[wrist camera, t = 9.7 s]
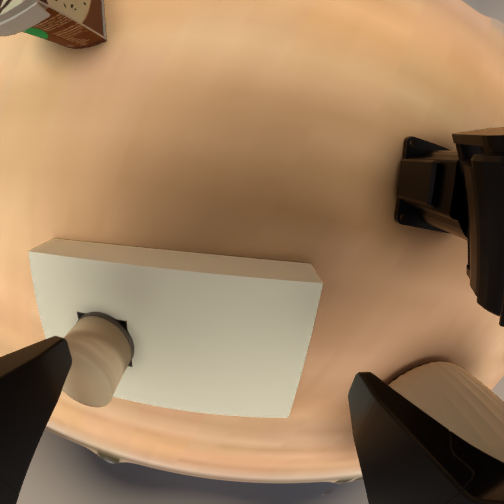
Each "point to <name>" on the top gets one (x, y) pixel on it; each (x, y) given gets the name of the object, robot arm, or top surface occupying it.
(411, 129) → the top surface
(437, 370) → the canister
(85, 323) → the peg
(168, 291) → the board
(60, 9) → the food container
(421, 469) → the robot arm
